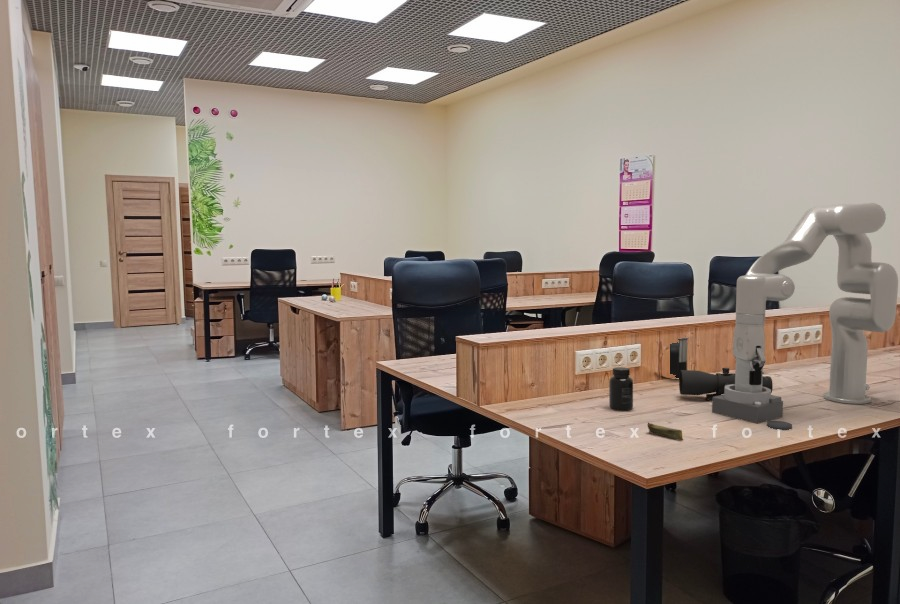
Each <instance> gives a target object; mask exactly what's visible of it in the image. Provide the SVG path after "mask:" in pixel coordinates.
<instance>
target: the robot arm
mask: <svg viewBox="0 0 900 604" xmlns="http://www.w3.org/2000/svg"><path fill="white" fill-rule="evenodd" d="M886 216H887V215H886V211H885V210H884V208H883V207H882V206H881V205H880V204H878V203H877V202H876V203H874V202H870V203H869V202H868V203H867V202H865V203H847V204H846V203H845V204H844V203H842V204H834V205H833V204H832V205H830V204H829V205H819V206H818V205H817V206H813V207H811V208H809V209H808V210H807V211H805V213H803V215H802V217H801V218H800V219H799V220H798V222H797V224H796V225H795V226H794V228H793V229H792V231H791V232H790V234H788V236H787V238H785V240H784V241H783V242H782V243H780V244H779V245H776V246H775V247H773V248H772V249H771V250H769V251H767V252H766V253H764V254H763V255H761V256H760V257H758V258H757V259H756V260H755V261H754V262H753V263H752V265H751V266H750V268H749V269H748V270H747V271H746V273H745V275H741V276H739V277H738V278H737V280H736V293H735V295H736V296H735V297H736V300H735V301H736V302H735V303H736V304H735V326H734V329H733V337H732V338H733V341H732V356H734V357H735V359H736V354H737V358H739V359H741V360H744V361H749V362H750V367H751V371H750V373H749V384H750V385H761V382H762V371H763V372H764V369H763V368H764V366H765V363H766V362H767V361H766V359H767V358H766V356H765V353H766V342H765V341H766V338H765V336H766V335H765V327H764V326H766V309H767V308H766V304H767V303H766V302H767V301H770V302H771V301H772V302H773V301H774V302H784V301H786V300H788V299H790V298H791V297H792V296H793V294H794V293H795V288H796V287H795V286H796V285H795V283H794V281H793V279H792V278H791V277H790V276H787V275H785V274H778V272H780V271H781V270H783V269H786V268H790V267H792V266H795V265H796V266H797V265H799V264H802V263H805V262H807V261H809V260H810V259H812V257H814V255H815V253H816V252H817V251H818V250H819V248H820V246H821V245H822V243H823V242H824V241H825V239H826V238H827V237H828V236H833V238H834V239H835V240H836V244H837V246H838V256H837V258H838V262H837V274H836V282H837V286H838V288H839V290H841V291H842V292H845V293H850V294H862V295H870V298H864V297H852V296H849V297H847V296H844V297H840V298H837V299H835V300H834V301H833V302H832V303H831V304H830V306H829V310H828V315H829V316H828V317H829V322H830V329H831V348H830V351H831V352H830V367H829V368H830V369H829V370H830V371H829V388H828V389H829V390H828V391H824V392H823V398H824V399H826V400H829V401H832V402H836V403H840V404H841V403H842V404H855V405H861V404H862V405H864V404H869V403H871V402H872V398H871V396H869V395H866V392H867V391H869V390H870V388H871V387H870V385H869V384H867V370H868V369H867V368H868V353H869V351H868V350H869V349H868V348H869V345H868V340H867V337H866V335H865V333H864V331H867V332H876V333H884V332H888V331H889V330H890V329H891V328H893V326H894V324H895V321H896V317H897V307H898V306H897V304H898V292H899V277H898V273H897V271H896V268H894V267H893V266H892V265H891V264H889V263H886V262H877V261H876V262H873V261H872V248H873V247H872V242H871V240H870V238H869V237H868V235H867V234H871V233H875V232H878V231H880V229H882V227H883V226H884V224H885V223H886V219H887V218H886ZM754 357H756V358H758V359H756V360H752V359H753V358H754ZM754 363H756V364H755V366H754Z"/></svg>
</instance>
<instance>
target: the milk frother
mask: <svg viewBox="0 0 900 604" xmlns="http://www.w3.org/2000/svg"><path fill="white" fill-rule="evenodd" d="M687 339H688V340H689V337H688V338H682V339H678V340H679V343H678V342H677V343H672V344H670V374H673V375H676V376H675V377H676V378H679V374H680V370H688V342H687Z"/></svg>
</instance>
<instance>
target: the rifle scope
mask: <svg viewBox="0 0 900 604" xmlns="http://www.w3.org/2000/svg"><path fill="white" fill-rule="evenodd" d="M721 370H722V373H720V372H717V373H715V374H714V373H710V372H705V371H702V370H689V369H687V370H680V374H679V379H678V386H679V387H678V389H679V394H680V395H682V396H702V395H705V399H707V401H711V402H712V397H715V396H720V395H724V388H725V386H726V385H731V384H735V373H730V367H722V368H721ZM773 385H774V383H773V379H772V377H771V376H768V375H767V376H766V375H765V376H764V372H763V376H762V386H763V387H766V388H769V389H771V394H772V393H773Z"/></svg>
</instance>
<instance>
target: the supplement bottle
mask: <svg viewBox="0 0 900 604" xmlns="http://www.w3.org/2000/svg"><path fill="white" fill-rule="evenodd" d="M612 375H613V376H611V377H610V379H609V384H608V385H609V393H608V395H609V398H608V399H609V401H608V402H609V403H608V405H609V408H610V409H611V410H613V411H617V412H618V411H619V412H620V411H621V412H625V411H631V410H632V409H633V408H634V380H633V379H632V378H631V377H630V375H631V374H630V368H629V367H622V366H617V367H613V368H612Z"/></svg>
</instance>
